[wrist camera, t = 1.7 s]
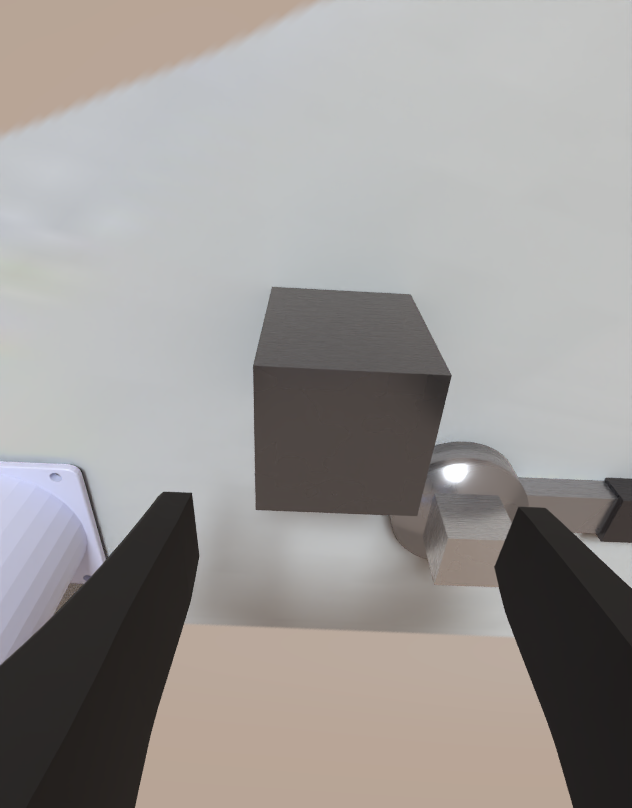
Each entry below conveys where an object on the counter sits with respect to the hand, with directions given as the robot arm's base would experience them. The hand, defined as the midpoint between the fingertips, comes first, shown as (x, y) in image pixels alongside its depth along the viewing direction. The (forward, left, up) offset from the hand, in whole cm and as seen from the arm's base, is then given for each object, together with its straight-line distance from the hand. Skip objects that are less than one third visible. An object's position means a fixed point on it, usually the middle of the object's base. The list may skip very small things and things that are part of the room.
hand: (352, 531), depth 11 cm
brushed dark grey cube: (0, 0, -9) cm, 9 cm away
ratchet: (+10, -7, -9) cm, 16 cm away
